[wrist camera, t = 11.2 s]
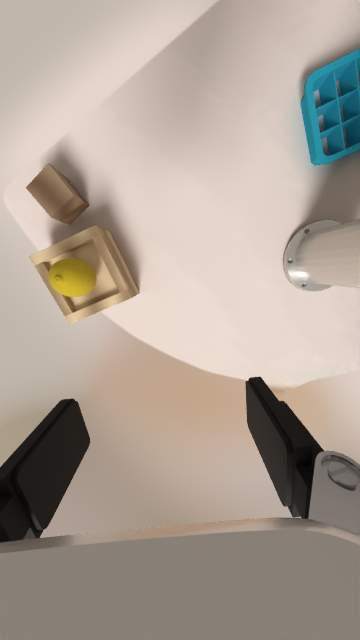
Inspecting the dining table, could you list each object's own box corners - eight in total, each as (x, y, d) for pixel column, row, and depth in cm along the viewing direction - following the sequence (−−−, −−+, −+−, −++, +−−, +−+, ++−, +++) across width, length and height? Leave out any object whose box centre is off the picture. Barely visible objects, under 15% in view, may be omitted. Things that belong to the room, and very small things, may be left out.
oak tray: (110, 232, 33) (96, 224, 27) (139, 293, 36) (131, 297, 30) (54, 258, 35) (28, 256, 29) (87, 315, 38) (69, 324, 32)
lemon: (64, 266, 30) (25, 266, 23) (94, 254, 30) (65, 249, 22) (81, 297, 32) (49, 307, 24) (109, 286, 31) (87, 292, 23)
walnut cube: (68, 179, 31) (48, 163, 26) (89, 205, 32) (73, 194, 28) (48, 199, 32) (25, 187, 27) (69, 224, 33) (51, 217, 28)
